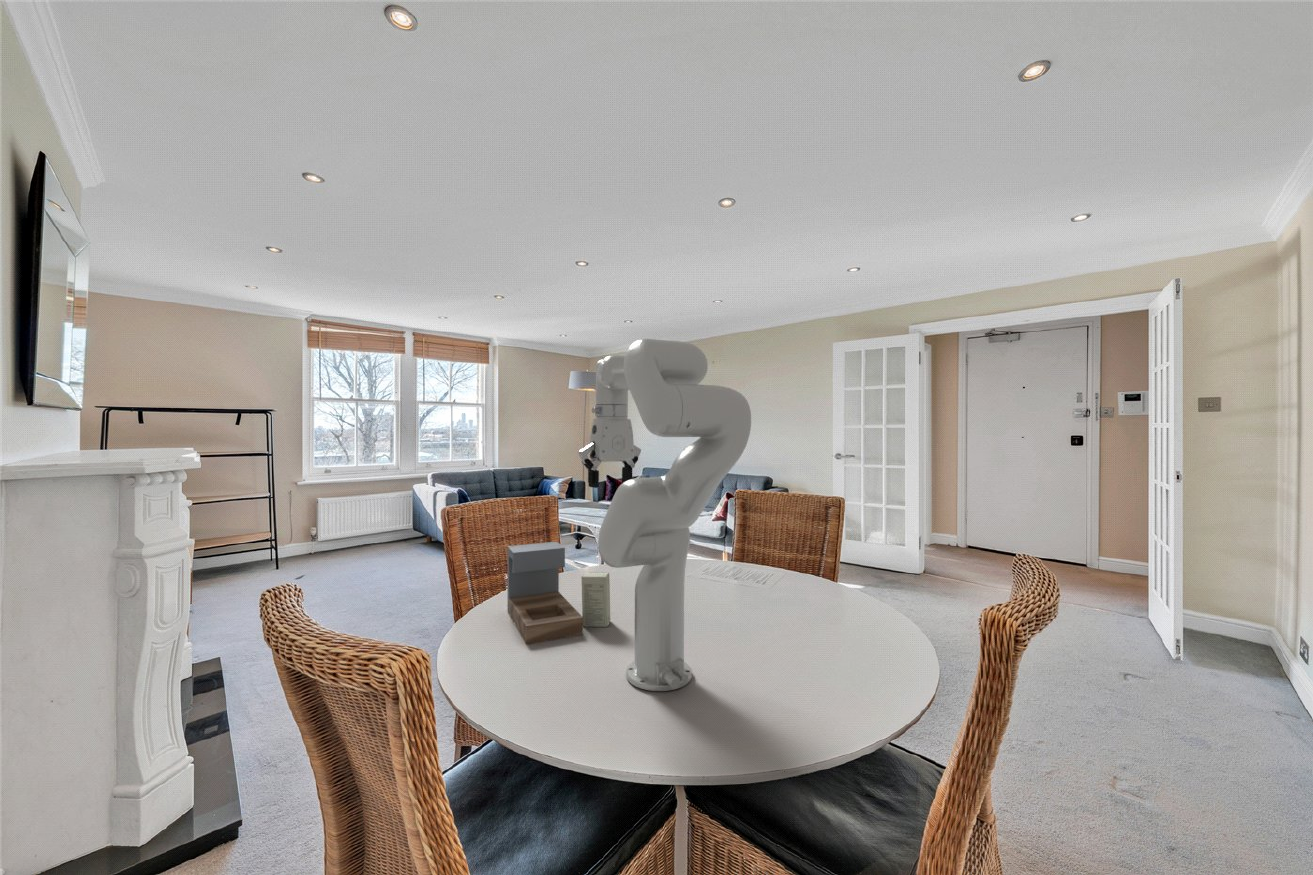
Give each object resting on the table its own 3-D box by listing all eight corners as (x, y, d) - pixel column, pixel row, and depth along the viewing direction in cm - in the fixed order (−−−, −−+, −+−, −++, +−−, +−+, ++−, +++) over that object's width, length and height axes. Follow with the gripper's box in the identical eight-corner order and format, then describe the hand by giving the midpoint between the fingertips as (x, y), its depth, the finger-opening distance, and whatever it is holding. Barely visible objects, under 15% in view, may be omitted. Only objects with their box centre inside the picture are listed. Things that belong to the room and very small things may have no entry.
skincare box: (610, 621, 131) (610, 571, 130) (607, 627, 126) (607, 576, 126) (585, 620, 131) (585, 571, 131) (581, 626, 127) (581, 576, 127)
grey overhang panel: (564, 613, 136) (564, 547, 135) (513, 621, 130) (513, 552, 130) (556, 604, 143) (556, 541, 143) (507, 611, 137) (507, 546, 137)
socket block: (582, 634, 122) (582, 617, 122) (526, 644, 116) (526, 626, 116) (558, 606, 141) (558, 591, 141) (508, 613, 135) (508, 598, 135)
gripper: (589, 412, 115) (588, 490, 116) (650, 413, 126) (648, 484, 127) (571, 412, 120) (570, 486, 121) (630, 413, 132) (629, 481, 133)
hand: (610, 485), depth 124 cm, fingers open, 9 cm apart
